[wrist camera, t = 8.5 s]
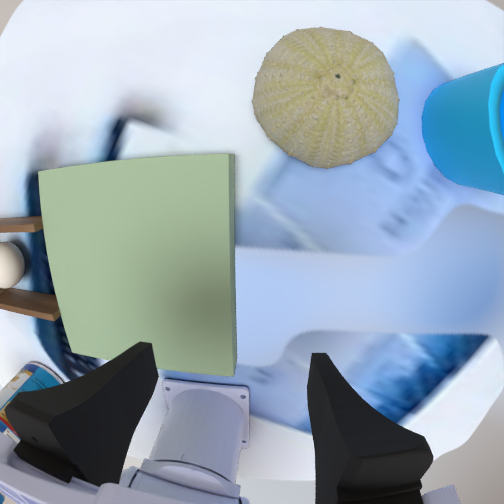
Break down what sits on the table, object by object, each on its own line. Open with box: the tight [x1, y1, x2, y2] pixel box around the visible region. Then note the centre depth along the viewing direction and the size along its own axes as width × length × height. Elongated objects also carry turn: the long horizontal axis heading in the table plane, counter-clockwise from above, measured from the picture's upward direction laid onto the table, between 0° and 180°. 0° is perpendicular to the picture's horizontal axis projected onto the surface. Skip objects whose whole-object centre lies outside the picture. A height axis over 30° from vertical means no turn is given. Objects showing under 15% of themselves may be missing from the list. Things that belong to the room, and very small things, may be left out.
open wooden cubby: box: [0, 216, 61, 321], centre depth 21 cm, size 11×11×7 cm
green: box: [38, 154, 237, 377], centre depth 21 cm, size 16×15×2 cm
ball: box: [0, 242, 25, 288], centre depth 22 cm, size 4×4×4 cm
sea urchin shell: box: [252, 27, 400, 169], centre depth 16 cm, size 9×8×8 cm
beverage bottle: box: [0, 363, 63, 504], centre depth 19 cm, size 8×8×20 cm
